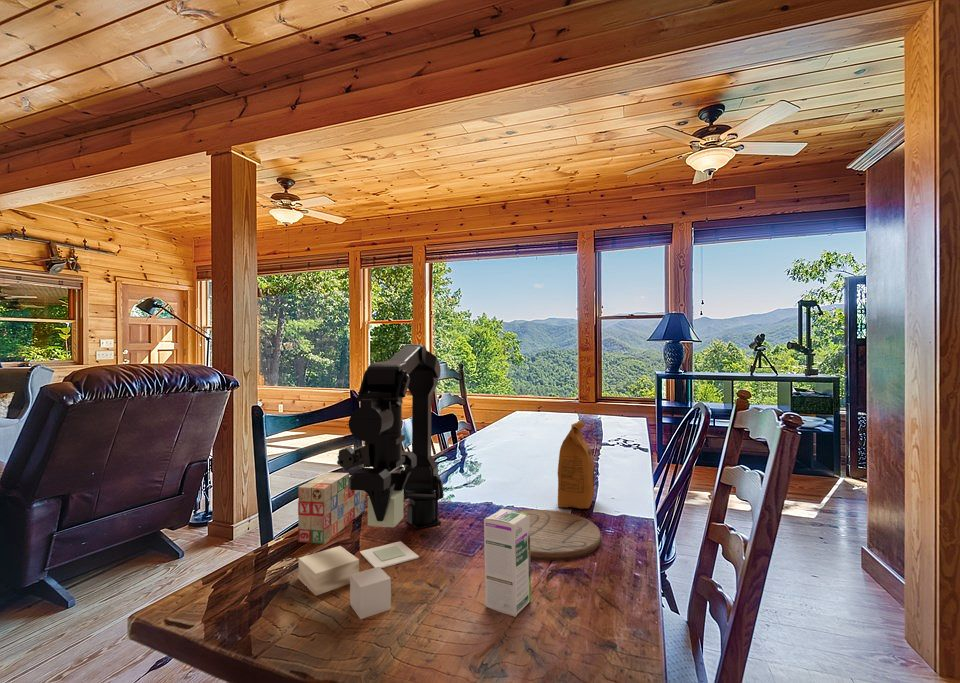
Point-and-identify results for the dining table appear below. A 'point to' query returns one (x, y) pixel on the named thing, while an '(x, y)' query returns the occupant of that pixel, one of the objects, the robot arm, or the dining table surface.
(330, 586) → the birch base block
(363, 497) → the stack of blocks
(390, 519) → the sage block
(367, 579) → the grey block
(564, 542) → the trivet
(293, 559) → the dining table surface
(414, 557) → the card
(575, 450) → the coffee package
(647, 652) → the dining table surface
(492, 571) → the syrup box
